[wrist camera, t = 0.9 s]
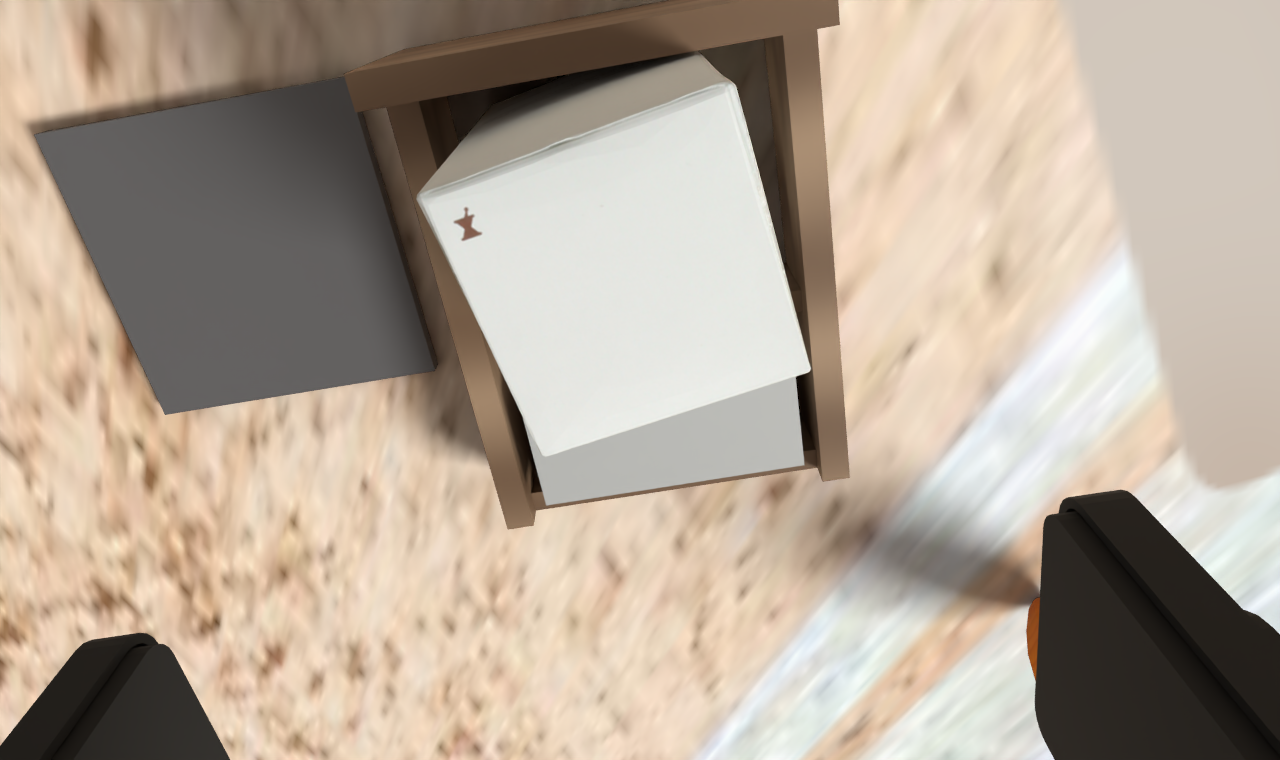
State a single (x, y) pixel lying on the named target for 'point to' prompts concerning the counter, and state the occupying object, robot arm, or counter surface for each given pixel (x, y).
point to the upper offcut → (681, 448)
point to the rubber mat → (246, 245)
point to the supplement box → (618, 248)
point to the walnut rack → (689, 21)
